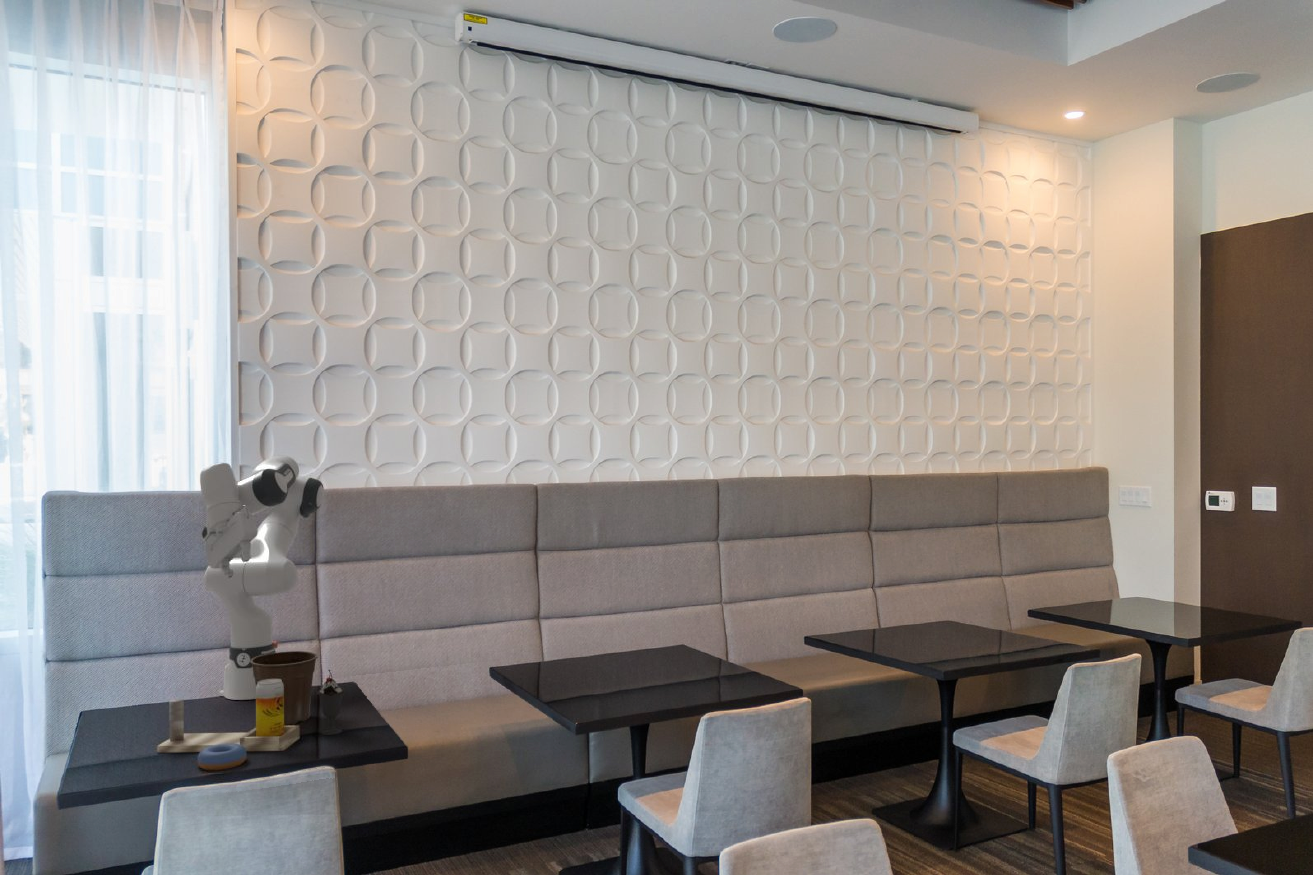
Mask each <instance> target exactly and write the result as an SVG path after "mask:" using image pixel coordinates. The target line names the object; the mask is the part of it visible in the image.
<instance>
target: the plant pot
mask: <svg viewBox="0 0 1313 875" xmlns="http://www.w3.org/2000/svg"><path fill="white" fill-rule="evenodd" d="M317 659H318V654H317V653H315V652H310V651H302V650H301V651H300V650H298V651H297V650H296V651H295V650H294V651H293V650H292V651H279V652H276V653H270V654H264V655H260V656H257V657H254V658H252V659H251V660H250V663H251V664H252V667H253V676H254V677H255V683H256V686H257V684H258V682H259V681H261V680H266V679H281V680H282V683H283V685H284V726H291V725H296V724H297V723H299V722H305V721H307V720H308V719H310V717H311V702H312V701H311V700H312V688H313V678H314V673H315V671H316V661H317ZM290 724H291V725H290Z"/></svg>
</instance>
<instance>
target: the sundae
mask: <svg viewBox="0 0 1313 875" xmlns="http://www.w3.org/2000/svg"><path fill="white" fill-rule="evenodd" d="M328 672H329V673H330V675H329V676H328V677H326V681H325V682H323V685H322V688H321V689H319V690H318V691H317V692H316V695H318V696H319V699H320V702H321V705H320V706H321V711H322V715H323V716H324V717H326V718H327V719H328V727H327V729H326V730H322V731H321V732H320V734H322V735H325V736H333V735H337V734H340V733H342V732H343V730H342V729H338V728H337V727H336V726H335V719H336V718H337V716H338V715H339V714H340V712H341V706H342V699H343V695H344V694H345V693H346V689H345V688H343V687H339V685H338V683H337V682H336V680H335V679H334V678H333V676H332V675H333V674H332V673H331V669H328Z"/></svg>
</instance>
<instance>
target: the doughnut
mask: <svg viewBox="0 0 1313 875" xmlns="http://www.w3.org/2000/svg"><path fill="white" fill-rule="evenodd" d="M247 757H248V756H247V751H246V749H245V747H243V746H242V745H239V744H233V743H228V744H218V745H214V746H210V747H207V748H205V749H203V750H202V751H201V752H198V755H197V765H198V767H199V768H200V769H202V770H206V771H220V770H226V769H227V770H228V769H232V768H235V767H238V766H240V765H242V764H243V763H244V762H246V759H247Z"/></svg>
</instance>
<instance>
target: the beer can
mask: <svg viewBox="0 0 1313 875" xmlns="http://www.w3.org/2000/svg"><path fill="white" fill-rule="evenodd" d="M284 726H285V725H284V685H283V683H282V680H281V679H266V680H261V681H259V682H258V684H257V686H256V699H255V728H256V737H271V736H282V735H283V734H284Z"/></svg>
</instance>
